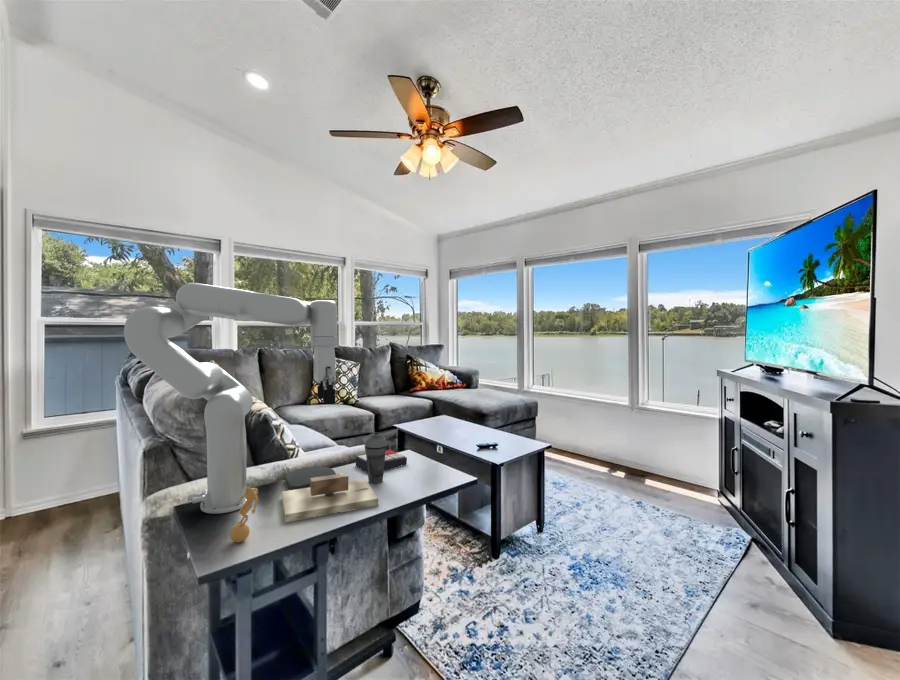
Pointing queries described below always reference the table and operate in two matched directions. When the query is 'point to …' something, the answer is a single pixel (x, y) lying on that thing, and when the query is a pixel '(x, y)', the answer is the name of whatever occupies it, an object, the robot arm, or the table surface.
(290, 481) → the media streaming box
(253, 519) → the table surface
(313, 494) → the brown wooden block
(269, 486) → the table surface
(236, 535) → the figurine
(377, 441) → the beverage cup
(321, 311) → the robot arm
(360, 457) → the calculator
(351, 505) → the base
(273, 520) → the table surface
